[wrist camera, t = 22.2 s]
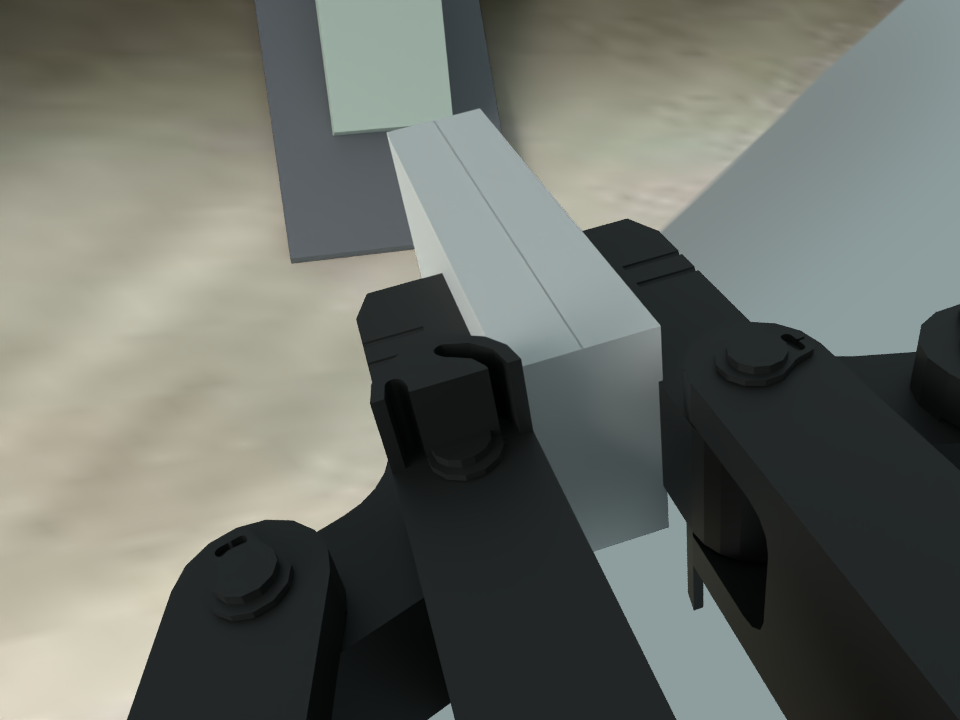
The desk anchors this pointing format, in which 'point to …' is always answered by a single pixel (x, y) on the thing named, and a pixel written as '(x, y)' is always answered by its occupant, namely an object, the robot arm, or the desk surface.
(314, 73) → the domino mat
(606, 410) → the robot arm
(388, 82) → the domino
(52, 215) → the desk surface
